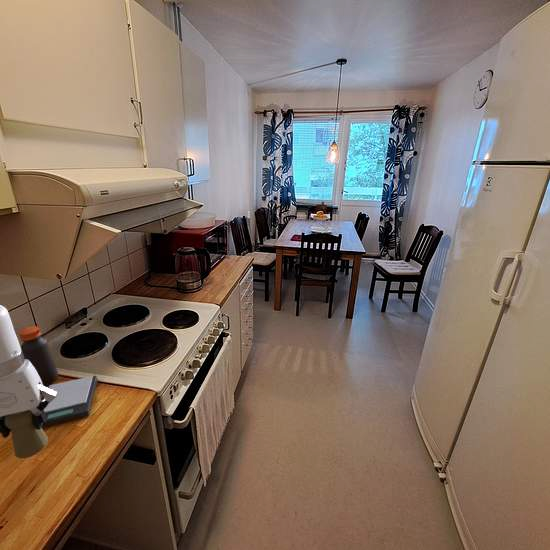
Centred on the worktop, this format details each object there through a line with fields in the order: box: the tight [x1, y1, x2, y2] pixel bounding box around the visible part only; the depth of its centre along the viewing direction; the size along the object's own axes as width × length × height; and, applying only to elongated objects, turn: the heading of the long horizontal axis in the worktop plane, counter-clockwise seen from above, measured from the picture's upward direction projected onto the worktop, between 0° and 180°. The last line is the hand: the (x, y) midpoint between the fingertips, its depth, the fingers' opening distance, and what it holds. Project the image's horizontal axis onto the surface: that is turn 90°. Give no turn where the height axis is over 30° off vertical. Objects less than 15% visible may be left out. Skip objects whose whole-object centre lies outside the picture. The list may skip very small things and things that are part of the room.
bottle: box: [18, 326, 60, 387], centre depth 94 cm, size 7×7×20 cm
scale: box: [41, 375, 99, 429], centre depth 88 cm, size 14×16×2 cm
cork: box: [5, 410, 49, 459], centre depth 65 cm, size 6×6×11 cm
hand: (24, 427), depth 64 cm, fingers closed on cork, 5 cm apart
